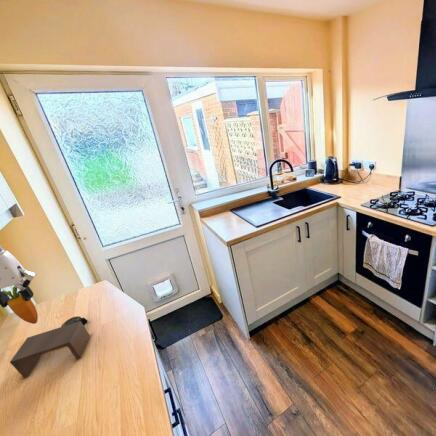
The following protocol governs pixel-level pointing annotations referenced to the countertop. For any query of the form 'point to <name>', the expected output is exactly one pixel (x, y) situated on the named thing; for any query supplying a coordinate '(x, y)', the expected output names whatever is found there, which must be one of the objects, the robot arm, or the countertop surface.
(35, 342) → the dark brown riser stand
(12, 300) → the carrot
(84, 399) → the countertop surface
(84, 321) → the tape measure
